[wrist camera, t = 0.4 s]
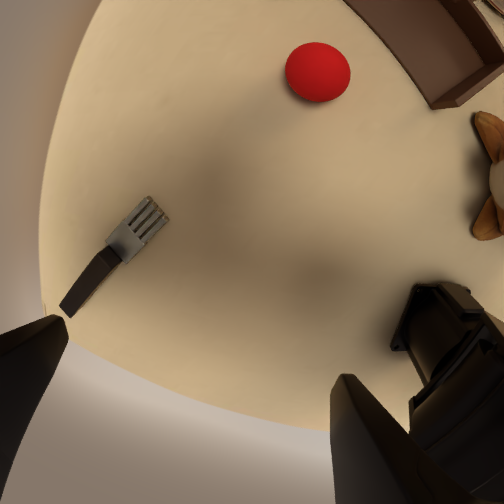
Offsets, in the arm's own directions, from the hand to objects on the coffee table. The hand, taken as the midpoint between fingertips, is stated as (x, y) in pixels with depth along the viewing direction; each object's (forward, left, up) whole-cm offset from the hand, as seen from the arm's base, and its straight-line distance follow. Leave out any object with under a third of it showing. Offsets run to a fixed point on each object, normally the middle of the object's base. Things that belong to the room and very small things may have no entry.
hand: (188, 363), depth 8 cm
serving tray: (+19, -12, -12) cm, 26 cm away
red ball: (+11, -4, -10) cm, 15 cm away
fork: (-3, +10, -12) cm, 16 cm away
